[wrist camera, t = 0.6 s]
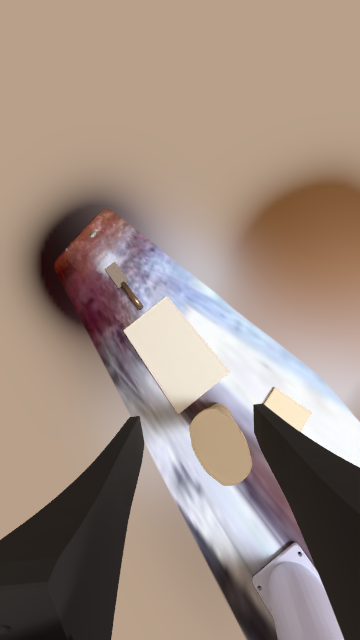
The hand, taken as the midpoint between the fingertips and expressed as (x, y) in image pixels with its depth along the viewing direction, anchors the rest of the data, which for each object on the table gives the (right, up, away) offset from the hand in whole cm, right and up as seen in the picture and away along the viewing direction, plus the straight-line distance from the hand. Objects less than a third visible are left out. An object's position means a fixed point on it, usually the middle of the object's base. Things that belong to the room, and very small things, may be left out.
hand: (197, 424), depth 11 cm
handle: (+6, -10, +20) cm, 23 cm away
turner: (-14, +15, +32) cm, 38 cm away
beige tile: (+16, -9, +19) cm, 26 cm away
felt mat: (-3, +1, +25) cm, 25 cm away
